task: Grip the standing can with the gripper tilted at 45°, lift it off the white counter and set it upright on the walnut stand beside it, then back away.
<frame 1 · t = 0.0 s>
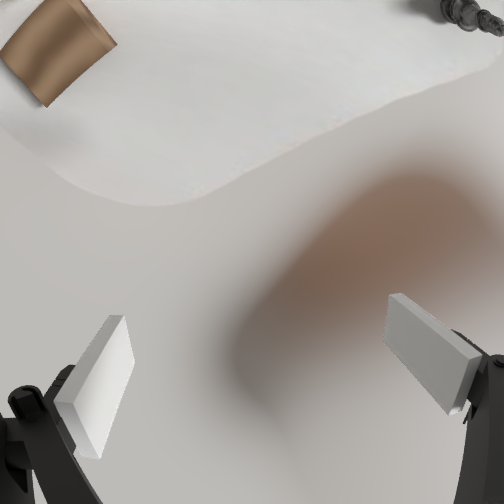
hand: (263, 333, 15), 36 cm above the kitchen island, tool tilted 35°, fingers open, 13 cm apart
salt shaker: (453, 8, 28), on the kitchen island
walnut stand: (60, 42, 29), on the kitchen island
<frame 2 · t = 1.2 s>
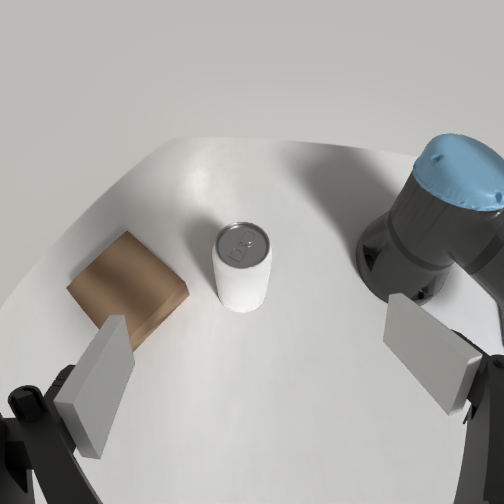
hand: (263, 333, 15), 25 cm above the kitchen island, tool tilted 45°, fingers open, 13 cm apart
can: (241, 291, 43), on the kitchen island
walnut stand: (130, 297, 42), on the kitchen island
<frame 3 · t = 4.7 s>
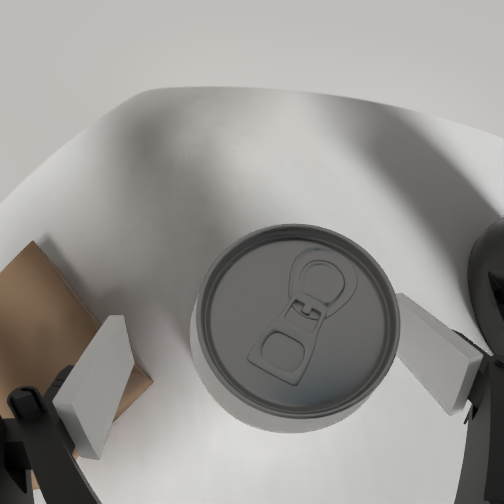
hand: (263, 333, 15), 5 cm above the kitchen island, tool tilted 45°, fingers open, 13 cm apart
can: (267, 377, 19), on the kitchen island
walnut stand: (42, 374, 17), on the kitchen island
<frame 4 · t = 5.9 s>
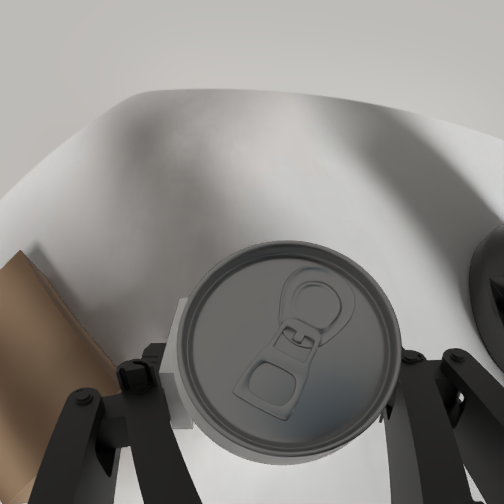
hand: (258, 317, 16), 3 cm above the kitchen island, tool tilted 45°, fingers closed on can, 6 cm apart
can: (261, 392, 18), on the kitchen island, touching gripper
walnut stand: (32, 386, 16), on the kitchen island
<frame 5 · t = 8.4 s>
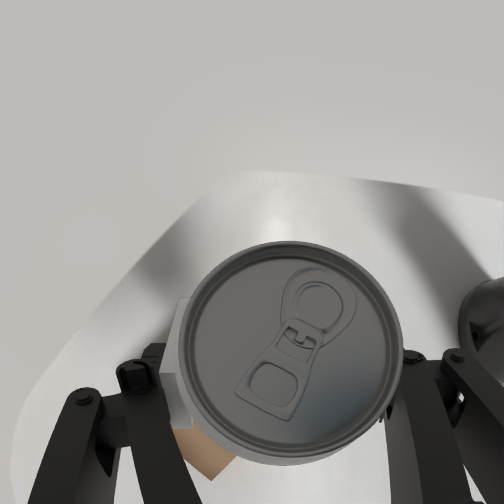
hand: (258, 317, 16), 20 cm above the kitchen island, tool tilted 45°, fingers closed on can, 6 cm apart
can: (261, 392, 18), point 16 cm above the kitchen island, touching gripper
walnut stand: (209, 401, 32), on the kitchen island
when the fingers open (9 cm above the kitchen island, at t = 11.3 s): can drops 1 cm, resting on walnut stand.
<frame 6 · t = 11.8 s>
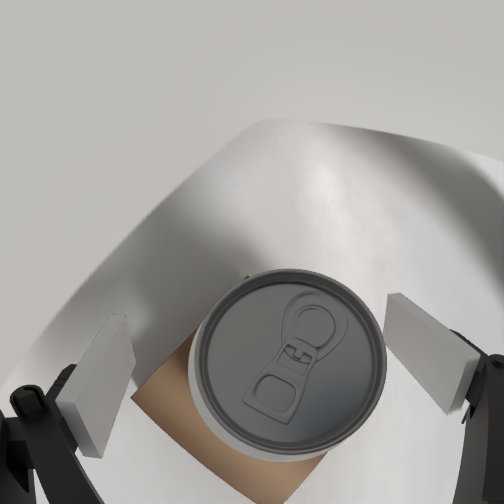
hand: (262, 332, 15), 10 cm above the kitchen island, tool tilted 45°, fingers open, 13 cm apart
can: (261, 395, 19), point 4 cm above the kitchen island, touching walnut stand
walnut stand: (256, 398, 22), on the kitchen island
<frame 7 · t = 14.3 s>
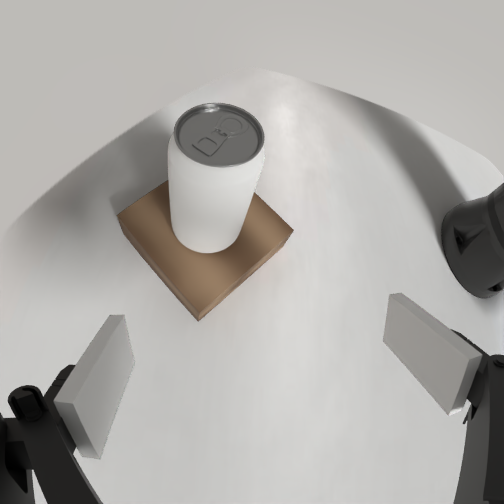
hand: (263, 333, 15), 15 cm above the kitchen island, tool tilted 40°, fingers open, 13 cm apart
can: (206, 223, 29), point 4 cm above the kitchen island, touching walnut stand
walnut stand: (203, 240, 33), on the kitchen island
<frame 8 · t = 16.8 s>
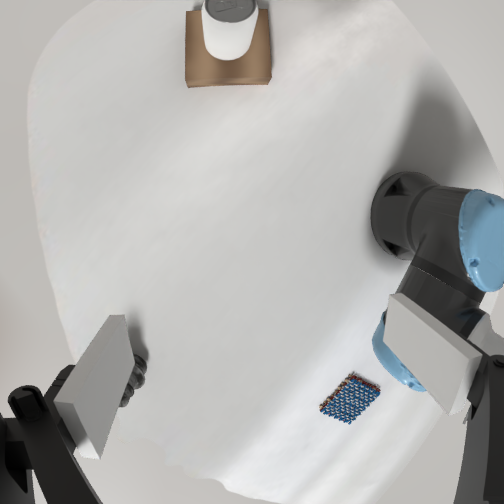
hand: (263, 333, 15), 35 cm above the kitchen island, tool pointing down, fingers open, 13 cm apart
salt shaker: (133, 365, 53), on the kitchen island
woven mat: (349, 396, 60), on the kitchen island
can: (227, 42, 38), point 4 cm above the kitchen island, touching walnut stand
walnut stand: (226, 50, 41), on the kitchen island
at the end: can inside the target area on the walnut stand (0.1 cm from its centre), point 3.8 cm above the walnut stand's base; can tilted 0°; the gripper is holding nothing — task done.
